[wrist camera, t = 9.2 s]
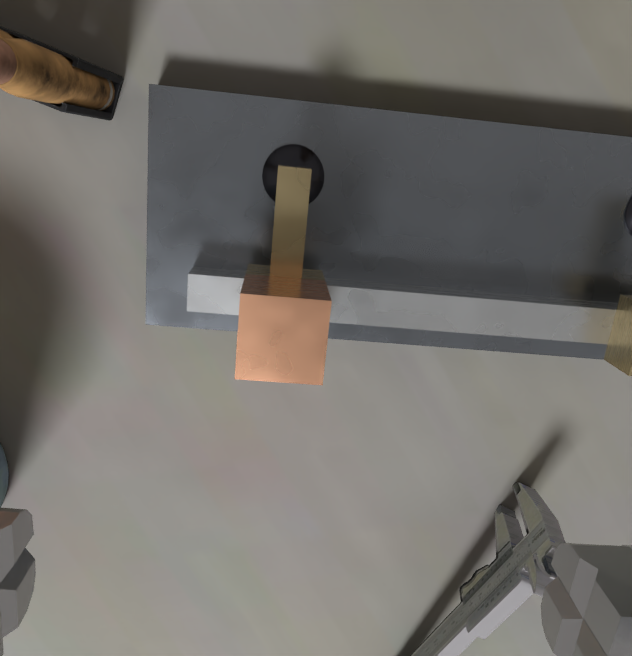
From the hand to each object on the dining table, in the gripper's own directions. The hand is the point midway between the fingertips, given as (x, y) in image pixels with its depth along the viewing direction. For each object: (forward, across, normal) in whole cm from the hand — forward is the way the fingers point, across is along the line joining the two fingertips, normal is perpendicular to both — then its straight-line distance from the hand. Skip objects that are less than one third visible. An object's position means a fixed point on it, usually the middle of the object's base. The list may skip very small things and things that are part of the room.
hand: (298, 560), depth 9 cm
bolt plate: (+19, -6, -3) cm, 21 cm away
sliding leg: (+17, 0, -2) cm, 17 cm away
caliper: (+20, -10, +19) cm, 29 cm away
